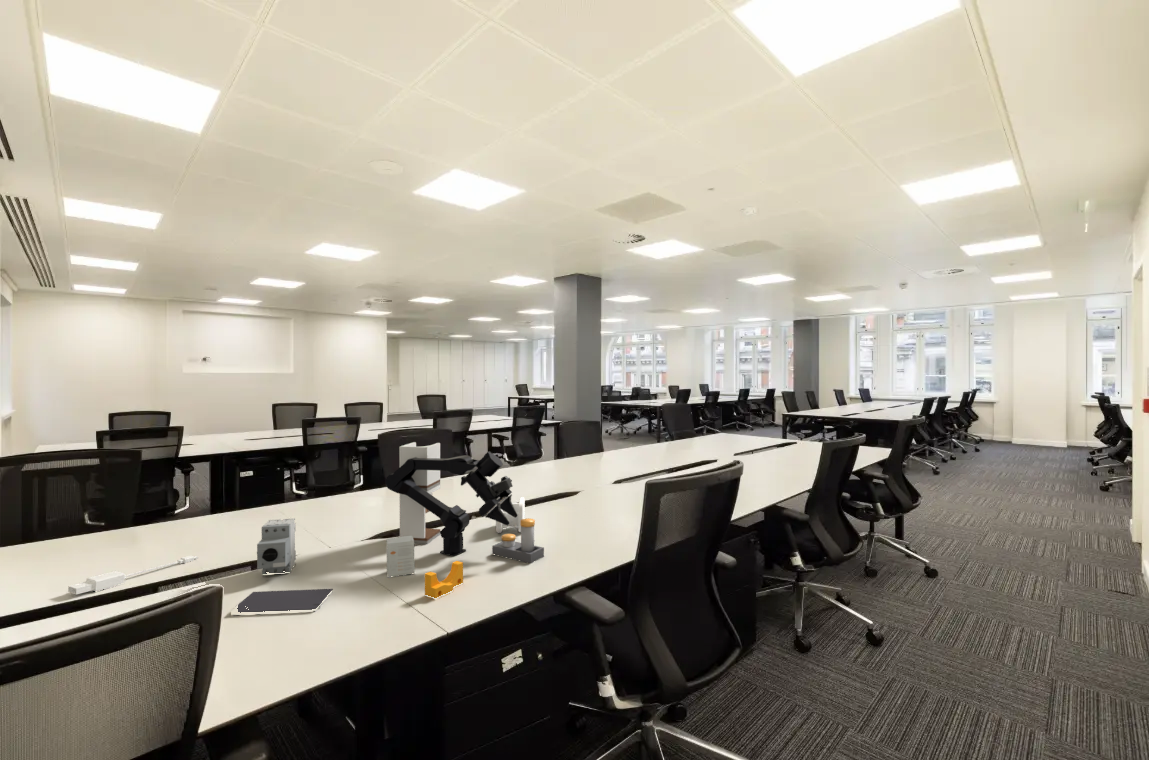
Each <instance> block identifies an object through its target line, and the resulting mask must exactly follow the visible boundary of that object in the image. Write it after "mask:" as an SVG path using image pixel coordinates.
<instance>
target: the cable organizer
mask: <svg viewBox="0 0 1149 760" xmlns="http://www.w3.org/2000/svg"><path fill="white" fill-rule="evenodd" d="M525 501H526V500H525V496H520V499H519V501H518V502H512V505H513V507H514V509H515V511H516V513H517V515H518V516H517V517H516V518H515V517H513V516H511V515H510V514H508V513H507V512H505V511H503V510H502V509H501V511H502V512H503V514H504V515H505V517H506V518H507V520H508V521H509V524H508V525H505V524H503V523H500V522H498V521H495V529H496V530H495V531H496V533H497V534H502V532H503V529H506V530H507V529H508V527H513V529H514V530H516V529H517V530H518V533H520V532H521V525H520V520H522V519H526V518H525V515H526V514H525V512H526V511H525V510H526V508H525V506H526V504H525V503H526V502H525Z"/></svg>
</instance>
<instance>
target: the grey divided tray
mask: <svg viewBox="0 0 1149 760" xmlns="http://www.w3.org/2000/svg"><path fill="white" fill-rule="evenodd" d="M516 539H517V538H516V534H513V533H504V534H501V541H500V542H498V543H496V544H494V545H491V546H492V547H491V549H492V550H491V552H492V553H491V554H495V555H494V556H496V555H499V556H498V557H500V556H503V557H502V558H505V557H507V558H506V559H509V558H512V559H511V560H513V559H516V560H515V561H518V560H520V561H519V562H522V561H524V562H523V563H527V562H528V563H527V564H533V563H535V562H536V561H538V560H540V559H542V558H544V557H545V547H542V546H538V545H534V551H533V552H531V553H527V552H523V551H521V542H519V541H516ZM534 561H535V562H534Z"/></svg>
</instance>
